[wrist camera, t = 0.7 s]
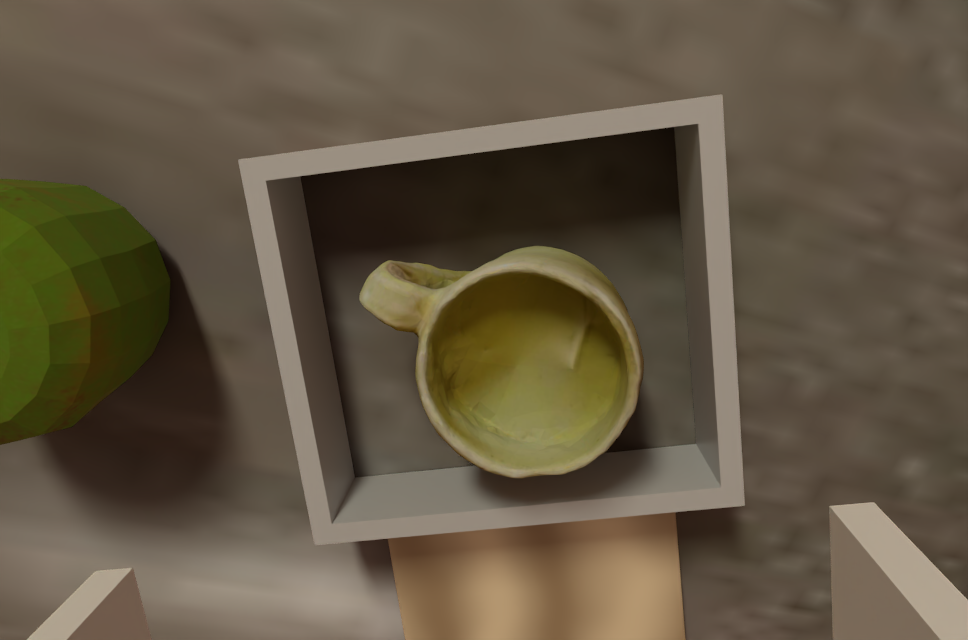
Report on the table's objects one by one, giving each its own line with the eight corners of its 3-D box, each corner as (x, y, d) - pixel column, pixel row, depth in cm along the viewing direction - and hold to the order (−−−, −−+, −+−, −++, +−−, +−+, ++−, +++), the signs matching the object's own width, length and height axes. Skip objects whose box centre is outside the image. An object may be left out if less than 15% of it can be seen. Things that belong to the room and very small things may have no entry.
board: (429, 749, 44) (427, 766, 42) (390, 517, 40) (385, 528, 39) (689, 731, 42) (693, 748, 41) (670, 490, 39) (674, 501, 38)
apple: (-23, 162, 37) (-241, 170, 26) (192, 186, 37) (58, 204, 26) (-11, 375, 40) (-205, 460, 29) (189, 398, 39) (67, 493, 29)
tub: (339, 496, 40) (314, 545, 35) (276, 157, 36) (237, 159, 31) (716, 460, 39) (744, 505, 34) (694, 101, 35) (722, 94, 30)
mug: (713, 307, 35) (677, 398, 26) (580, 436, 40) (514, 547, 31) (517, 138, 36) (421, 173, 27) (412, 286, 41) (303, 354, 32)
